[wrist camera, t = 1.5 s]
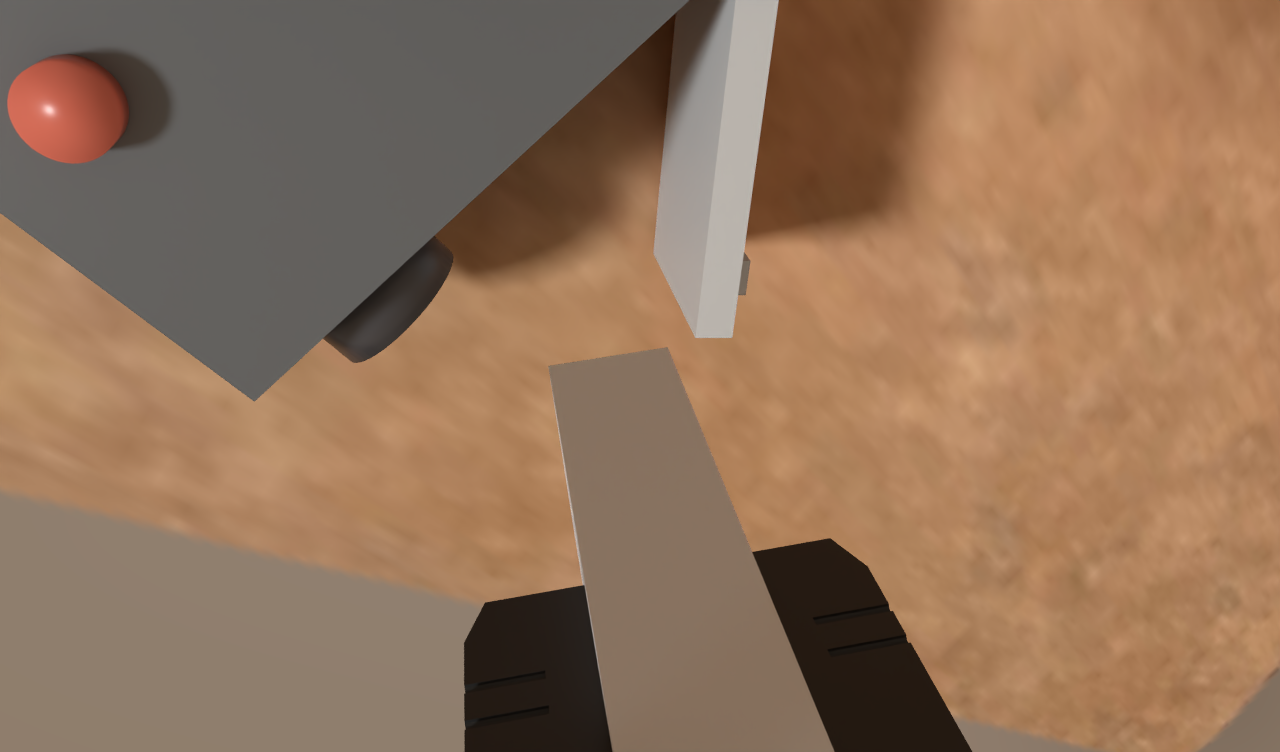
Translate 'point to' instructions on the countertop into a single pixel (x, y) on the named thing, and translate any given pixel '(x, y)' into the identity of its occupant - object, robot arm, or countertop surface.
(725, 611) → the robot arm
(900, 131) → the countertop surface
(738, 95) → the side door
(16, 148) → the box with round dial
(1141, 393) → the countertop surface
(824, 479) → the countertop surface
